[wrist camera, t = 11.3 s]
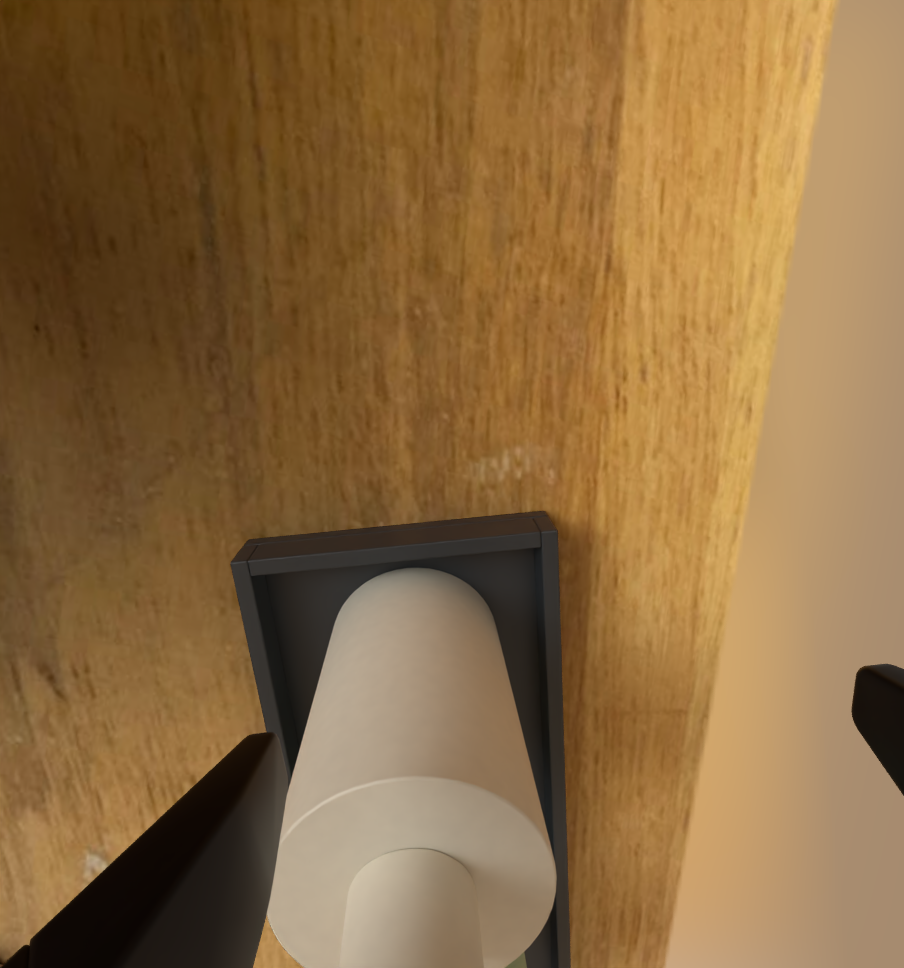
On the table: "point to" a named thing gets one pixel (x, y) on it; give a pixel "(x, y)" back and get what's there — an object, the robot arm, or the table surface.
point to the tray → (440, 546)
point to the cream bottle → (412, 792)
